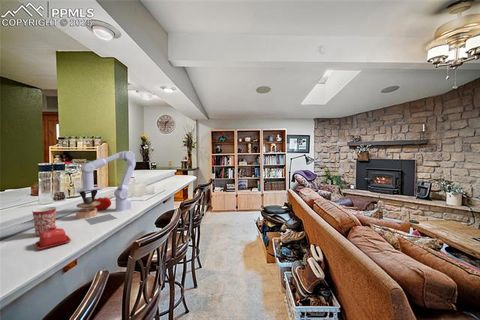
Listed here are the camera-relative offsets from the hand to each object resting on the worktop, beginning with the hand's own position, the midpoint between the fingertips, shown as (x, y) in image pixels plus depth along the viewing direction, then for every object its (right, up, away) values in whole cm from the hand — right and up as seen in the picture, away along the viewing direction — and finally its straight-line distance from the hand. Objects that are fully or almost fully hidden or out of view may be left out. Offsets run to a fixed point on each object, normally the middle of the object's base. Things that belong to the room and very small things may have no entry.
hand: (88, 202), depth 131 cm
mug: (-4, -11, -24) cm, 27 cm away
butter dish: (+11, -12, -36) cm, 40 cm away
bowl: (-2, -10, +2) cm, 10 cm away
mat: (+11, -10, -4) cm, 16 cm away
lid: (0, -3, 0) cm, 3 cm away
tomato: (-5, -9, +19) cm, 22 cm away
